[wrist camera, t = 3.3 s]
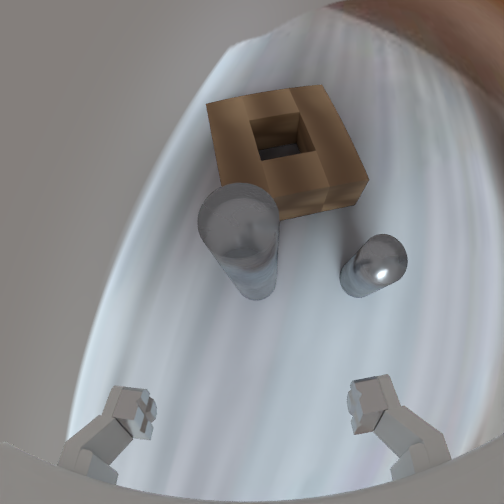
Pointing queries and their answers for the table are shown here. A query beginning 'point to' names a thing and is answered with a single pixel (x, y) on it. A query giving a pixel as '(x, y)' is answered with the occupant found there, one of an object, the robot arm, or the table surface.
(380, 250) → the short pin
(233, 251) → the long pin
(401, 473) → the robot arm
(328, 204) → the hole block
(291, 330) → the table surface
